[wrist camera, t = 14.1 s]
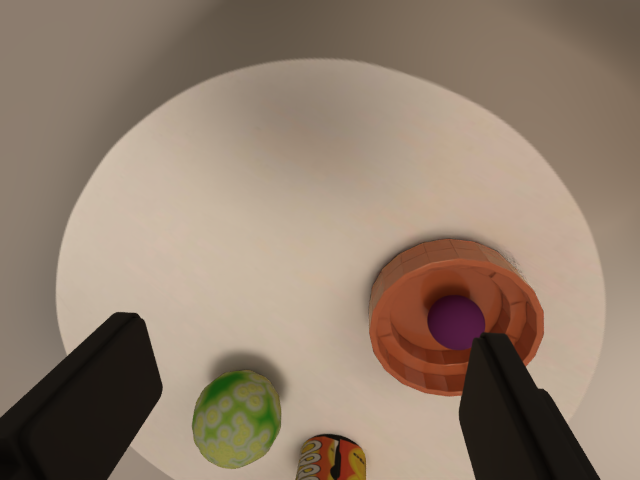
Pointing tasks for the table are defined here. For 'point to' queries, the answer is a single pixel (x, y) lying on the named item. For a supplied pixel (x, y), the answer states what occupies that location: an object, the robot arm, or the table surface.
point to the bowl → (434, 283)
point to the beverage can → (331, 459)
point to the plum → (455, 322)
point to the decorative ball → (236, 419)
